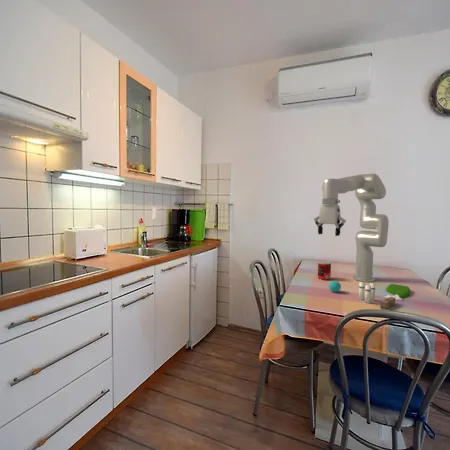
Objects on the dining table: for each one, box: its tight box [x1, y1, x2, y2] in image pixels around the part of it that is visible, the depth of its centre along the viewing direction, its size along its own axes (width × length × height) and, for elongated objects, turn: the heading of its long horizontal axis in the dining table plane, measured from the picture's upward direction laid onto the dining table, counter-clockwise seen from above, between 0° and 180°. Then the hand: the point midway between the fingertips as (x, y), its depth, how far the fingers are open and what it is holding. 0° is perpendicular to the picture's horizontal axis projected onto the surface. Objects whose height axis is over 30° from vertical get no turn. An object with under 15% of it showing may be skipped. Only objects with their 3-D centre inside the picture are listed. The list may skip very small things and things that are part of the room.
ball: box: [328, 280, 342, 293], centre depth 141 cm, size 6×6×6 cm
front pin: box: [358, 281, 366, 301], centre depth 130 cm, size 2×2×8 cm
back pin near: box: [364, 283, 371, 304], centre depth 125 cm, size 2×2×8 cm
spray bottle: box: [384, 283, 411, 302], centre depth 139 cm, size 3×11×24 cm
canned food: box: [317, 260, 332, 281], centre depth 167 cm, size 8×8×11 cm
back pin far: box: [369, 282, 376, 302], centre depth 128 cm, size 2×2×8 cm
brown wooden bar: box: [380, 297, 396, 310], centre depth 120 cm, size 12×2×3 cm, turn 129°
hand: (328, 234), depth 137 cm, fingers open, 9 cm apart
